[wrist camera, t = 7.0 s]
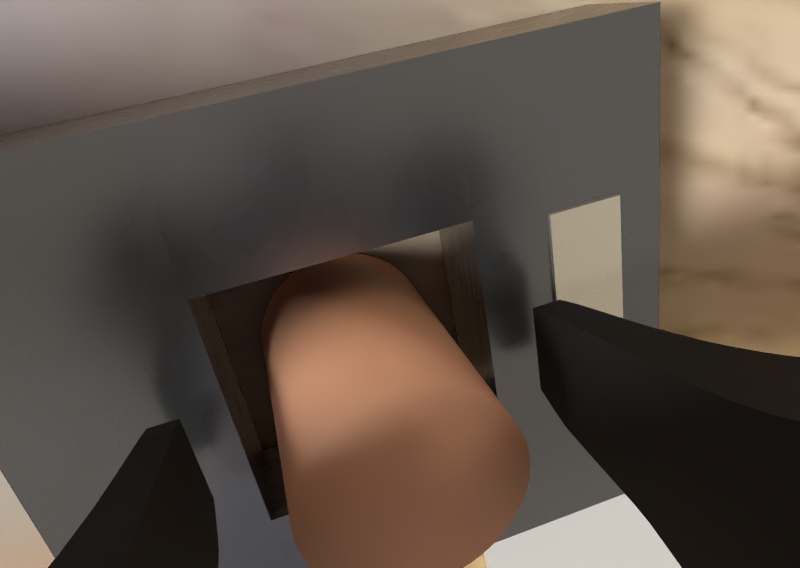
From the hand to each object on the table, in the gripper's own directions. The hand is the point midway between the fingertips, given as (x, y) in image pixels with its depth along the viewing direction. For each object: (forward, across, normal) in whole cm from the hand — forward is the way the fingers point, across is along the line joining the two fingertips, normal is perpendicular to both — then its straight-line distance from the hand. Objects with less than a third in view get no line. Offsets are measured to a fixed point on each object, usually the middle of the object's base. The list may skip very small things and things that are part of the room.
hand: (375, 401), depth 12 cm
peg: (+3, 0, 0) cm, 3 cm away
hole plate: (+3, 0, 0) cm, 3 cm away
